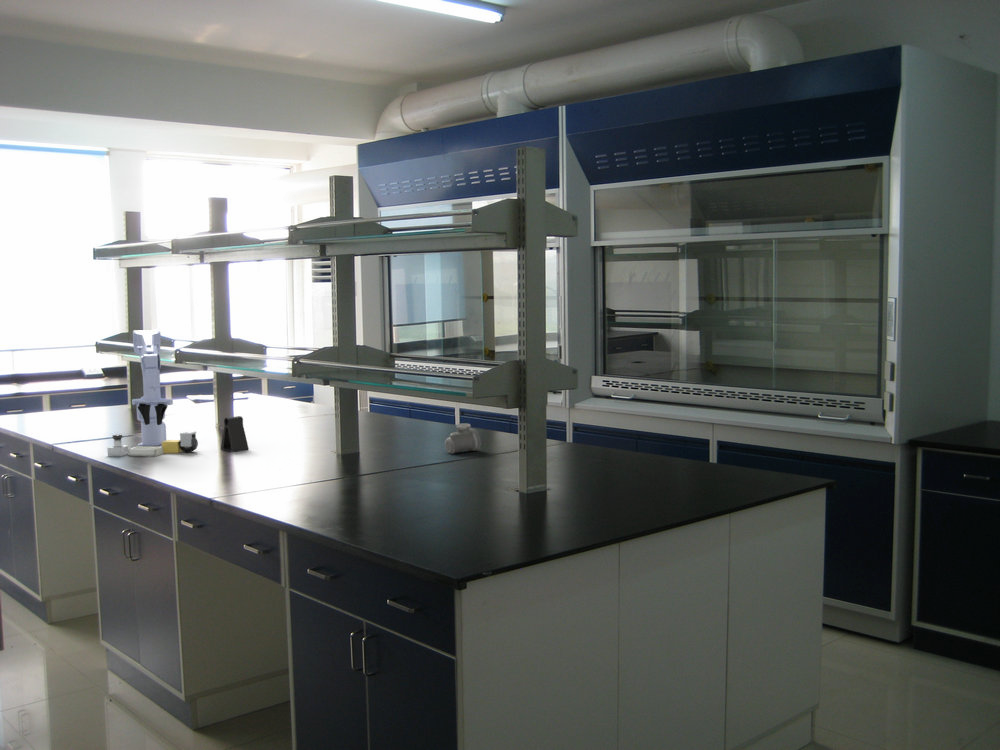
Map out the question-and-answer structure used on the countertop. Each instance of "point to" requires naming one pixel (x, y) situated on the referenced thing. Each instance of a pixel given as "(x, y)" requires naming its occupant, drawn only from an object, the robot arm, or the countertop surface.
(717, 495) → the countertop surface
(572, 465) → the countertop surface
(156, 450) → the tray
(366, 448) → the countertop surface
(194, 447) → the castor
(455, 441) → the pipe fitting
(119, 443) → the stop pin
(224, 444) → the phone stand
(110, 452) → the socket block
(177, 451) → the block
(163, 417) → the robot arm
